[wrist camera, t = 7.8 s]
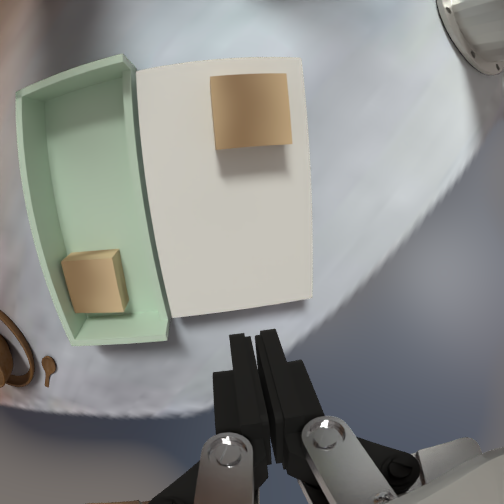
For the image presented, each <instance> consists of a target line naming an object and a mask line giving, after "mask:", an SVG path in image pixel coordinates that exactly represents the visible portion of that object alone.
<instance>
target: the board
mask: <svg viewBox="0 0 504 504" xmlns="http://www.w3.org/2000/svg"><path fill="white" fill-rule="evenodd" d="M261 73H286V74H287V84H288V95H289V106H290V118H291V131H292V144H285V145H268V146H254V147H241V148H231V149H221V150H215V141H214V130H213V118H212V107H211V95H210V77H211V76H222V75H237V74H261ZM136 82H137V100H138V114H139V126H140V137H141V146H142V155H143V164H144V172H145V179H146V186H147V193H148V200H149V206H150V212H151V218H152V224H153V230H154V235H155V241H156V246H157V251H158V256H159V261H160V266H161V271H162V275H163V280H164V284H165V289H166V293H167V298H168V302H169V306H170V310H171V314H172V318H177V317H186V316H194V315H203V314H211V313H218V312H226V311H233V310H240V309H247V308H254V307H261V306H267V305H274V304H280V303H286V302H292V301H298V300H304V299H310V298H312V287H313V239H312V197H311V173H310V154H309V138H308V124H307V111H306V99H305V89H304V79H303V69H302V60H301V58H292V57H246V58H227V59H214V60H203V61H194V62H186V63H179V64H172V65H166V66H160V67H154V68H149V69H144V70H139V71H136Z"/></svg>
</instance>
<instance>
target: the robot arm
mask: <svg viewBox="0 0 504 504" xmlns="http://www.w3.org/2000/svg"><path fill="white" fill-rule="evenodd" d="M437 5H438V9H439V13H440V15H441V18H442V21H443V23H444V25H445V27H446V30H447V32H448V33H449V35H450V37H451V39H452V40H453V42H454V44H455V45H456V47H457V48H458V50H459V51H460V52H461V53H462V55H463V56H464V57H465V58H466V60H467V61H468V62H469V63H470V64H471V65H472V66H473V67H475V68H476V69H477V70H478V71H480V72H482V73H483V74H486V75H496V74H499V73H500V72H502V70H503V68H504V0H437ZM229 338H230V347H231V356H232V364H233V370H230V371H221V372H213V392H214V412H215V428H216V435H214V436H213V437H211V438H210V439H208V440H207V442H206V443H205V444H204V446H203V448H202V452H201V458H200V461H199V462H198V463H197V464H195V465H194V466H193V467H192V468H190V469H189V470H188V471H187V472H186V473H185V474H183V475H182V476H181V477H180V478H178V479H177V480H176V481H175V482H174V483H172V484H171V485H170V486H169V487H167V488H166V489H164V490H163V491H162V492H161V493H159V494H158V495H157V496H155V497H154V498H153V499H152V500H151V501H145V502H140V501H139V500H137V501H126V502H112V503H87V504H259V487H260V486H261V485H262V484H263V483H264V482H265V481H266V479H267V478H268V470H267V465H270V464H271V447H270V438H271V443H272V447H273V452H274V456H275V460H276V463H282V465H283V469H286V470H287V474H289V475H290V476H292V477H294V478H297V479H298V483H299V485H300V487H301V489H302V491H303V493H304V495H305V497H306V499H307V501H308V503H309V504H504V447H502V448H497V449H494V450H491V451H488V452H485V453H483V454H482V452H481V449H480V447H479V445H478V443H477V442H476V441H475V440H473V439H472V438H468V437H466V438H460V439H457V440H454V441H451V442H448V443H444V444H440V445H437V446H433V447H430V448H426V449H421V450H418V451H417V452H416V453H413V454H409V453H406V452H402V451H399V450H396V449H392V448H389V447H385V446H382V445H379V444H376V443H373V442H370V441H367V440H364V439H361V438H358V437H356V436H355V435H354V433H353V432H352V430H351V429H350V428H349V426H348V425H347V424H346V423H345V422H344V421H343V420H341V419H339V418H337V417H332V416H325V415H324V413H323V410H322V408H321V405H320V403H319V400H318V398H317V395H316V393H315V390H314V388H313V385H312V383H311V381H310V378H309V376H308V373H307V371H306V368H305V366H304V363H303V361H302V360H297V361H291V362H287V361H286V358H285V355H284V352H283V349H282V346H281V344H280V341H279V338H278V335H277V332H276V329H270V330H263V331H260V335H256V336H255V343H256V354H257V364H256V360H255V355H254V350H253V346H252V341H251V337H250V336H248V337H245V336H244V333H241V334H233V335H229ZM257 365H258V369H257Z"/></svg>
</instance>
